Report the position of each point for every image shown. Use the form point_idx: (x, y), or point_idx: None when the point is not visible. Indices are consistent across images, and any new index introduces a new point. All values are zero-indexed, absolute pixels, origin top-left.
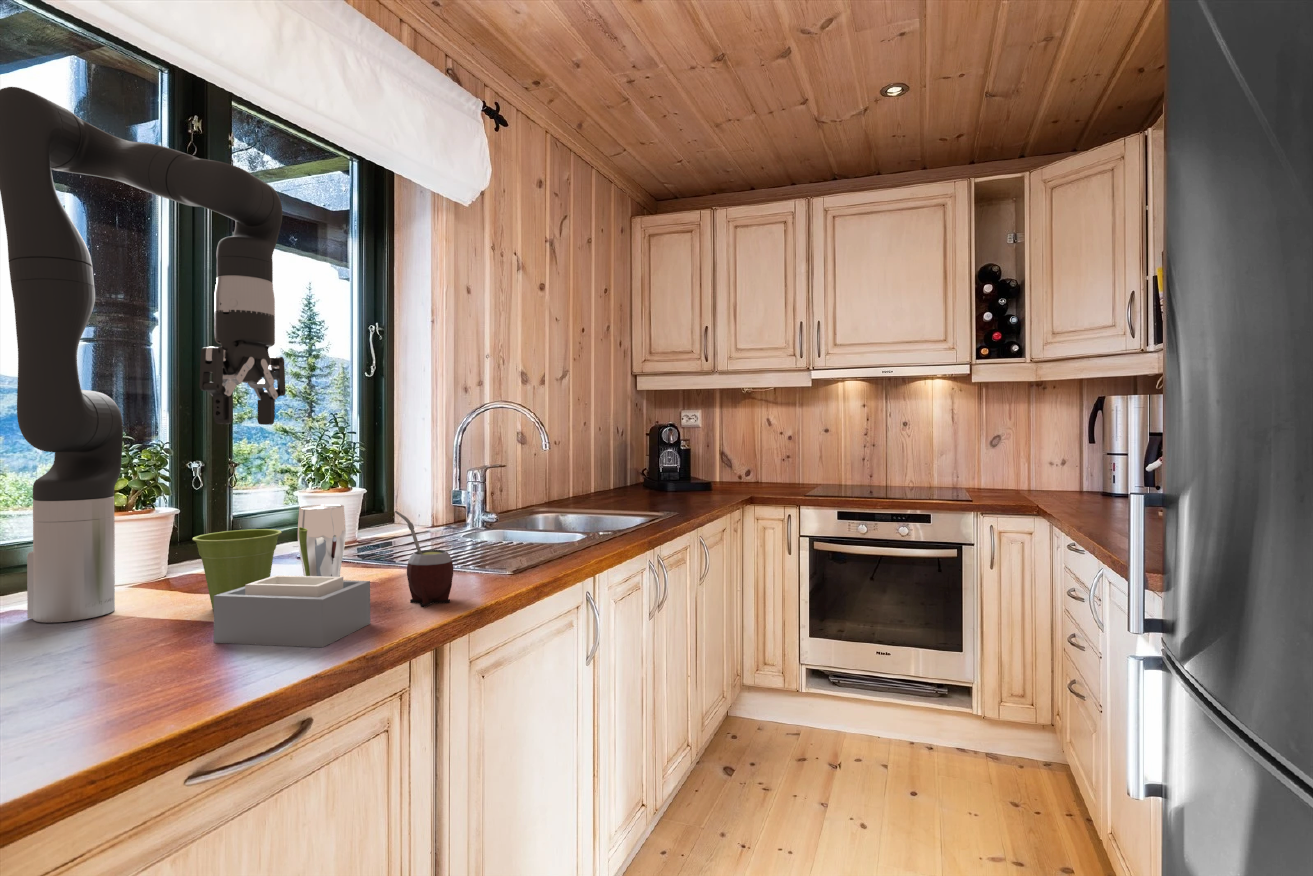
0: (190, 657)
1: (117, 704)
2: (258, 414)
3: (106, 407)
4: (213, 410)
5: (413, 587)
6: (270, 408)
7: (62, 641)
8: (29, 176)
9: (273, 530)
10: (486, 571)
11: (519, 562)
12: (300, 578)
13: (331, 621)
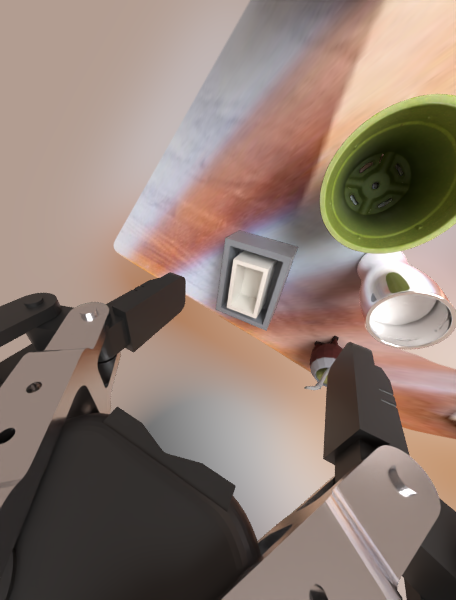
0: (212, 231)
1: (157, 234)
2: (353, 367)
3: None
4: (137, 287)
5: (319, 346)
6: (326, 418)
7: (252, 73)
8: None
9: (439, 228)
10: None
11: None
12: (259, 290)
13: None
